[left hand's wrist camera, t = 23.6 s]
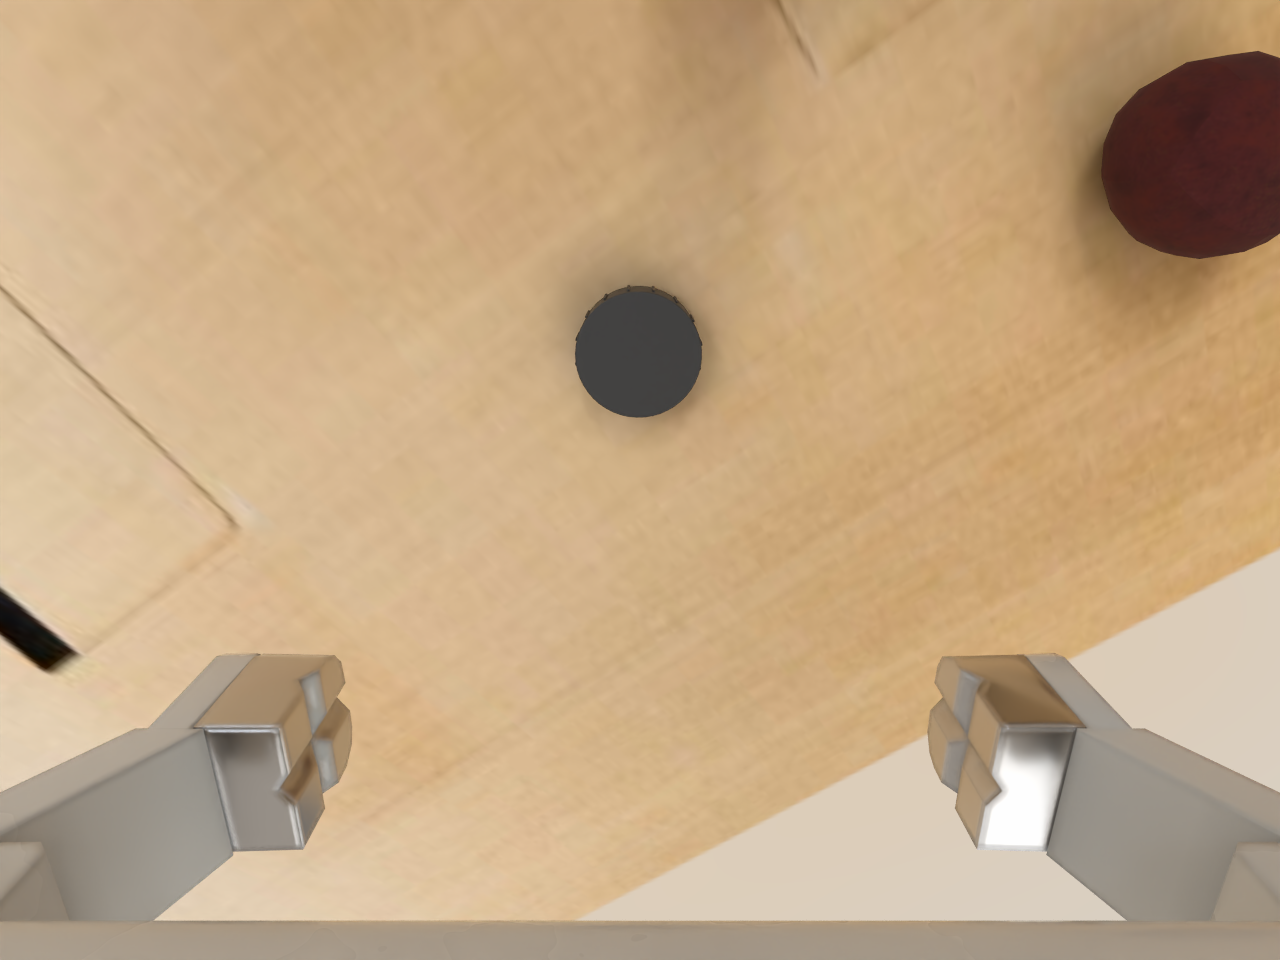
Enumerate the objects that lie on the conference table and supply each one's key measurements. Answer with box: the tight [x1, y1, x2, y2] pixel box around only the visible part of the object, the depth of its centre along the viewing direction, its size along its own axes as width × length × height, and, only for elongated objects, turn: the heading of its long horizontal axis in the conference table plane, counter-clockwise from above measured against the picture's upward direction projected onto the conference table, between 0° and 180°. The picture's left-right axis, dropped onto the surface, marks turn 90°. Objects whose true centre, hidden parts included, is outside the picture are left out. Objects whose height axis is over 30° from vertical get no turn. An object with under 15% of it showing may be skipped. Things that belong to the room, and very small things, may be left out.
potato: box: [1102, 51, 1280, 259], centre depth 29 cm, size 7×8×7 cm
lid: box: [575, 285, 702, 417], centre depth 35 cm, size 6×6×2 cm
